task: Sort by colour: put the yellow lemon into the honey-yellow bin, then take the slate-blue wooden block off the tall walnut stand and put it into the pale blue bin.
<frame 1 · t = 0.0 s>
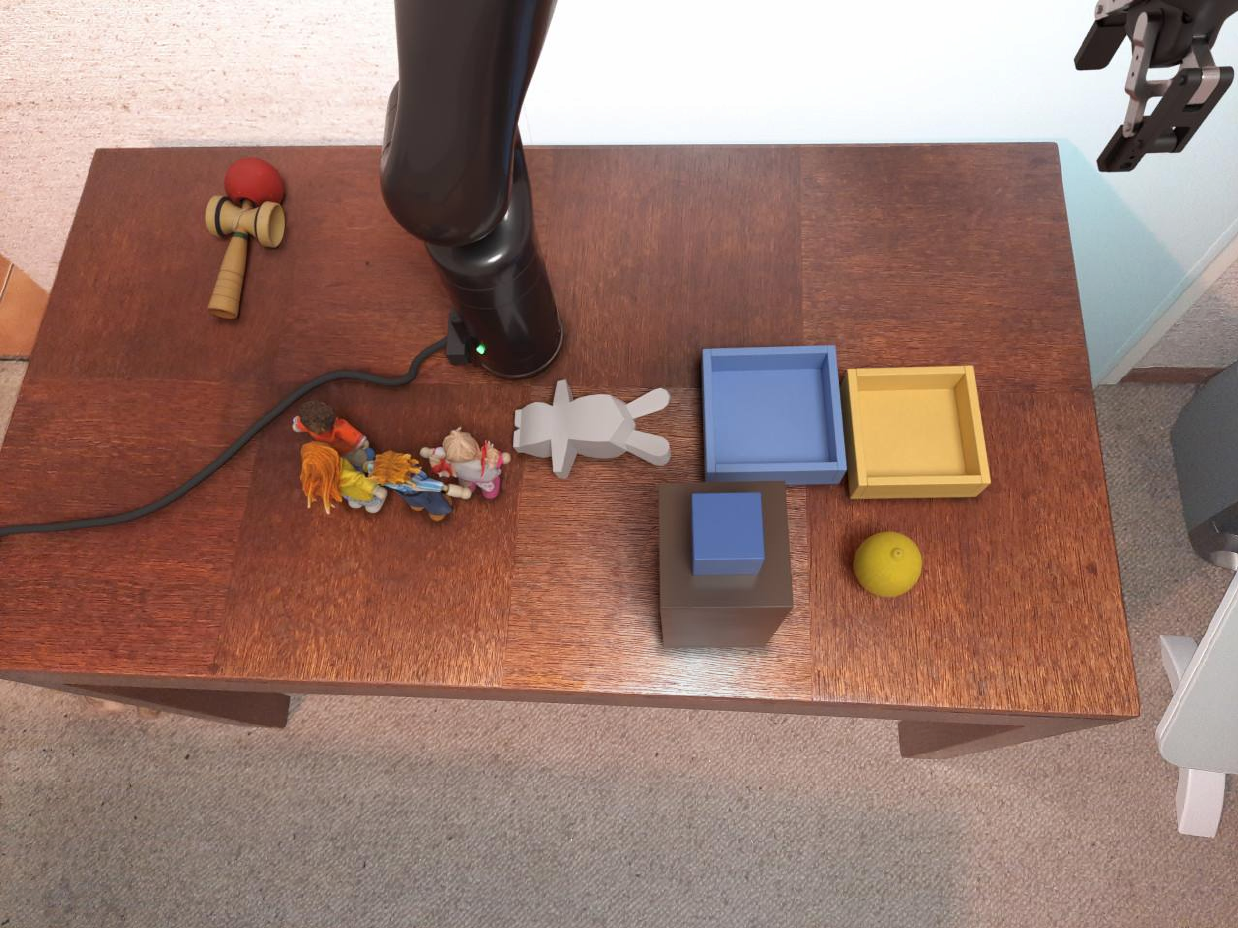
hand: (1099, 116, 58), 29 cm above the table, tool pointing down, fingers open, 8 cm apart
doll family: (410, 499, 83), on the table
kendama: (253, 251, 94), on the table
blue block: (724, 543, 59), point 20 cm above the table, touching stand
stand: (712, 597, 78), on the table
lemon: (876, 574, 78), on the table
blue bin: (768, 424, 83), on the table
bunny figurine: (594, 437, 84), on the table
yellow bin: (905, 440, 82), on the table
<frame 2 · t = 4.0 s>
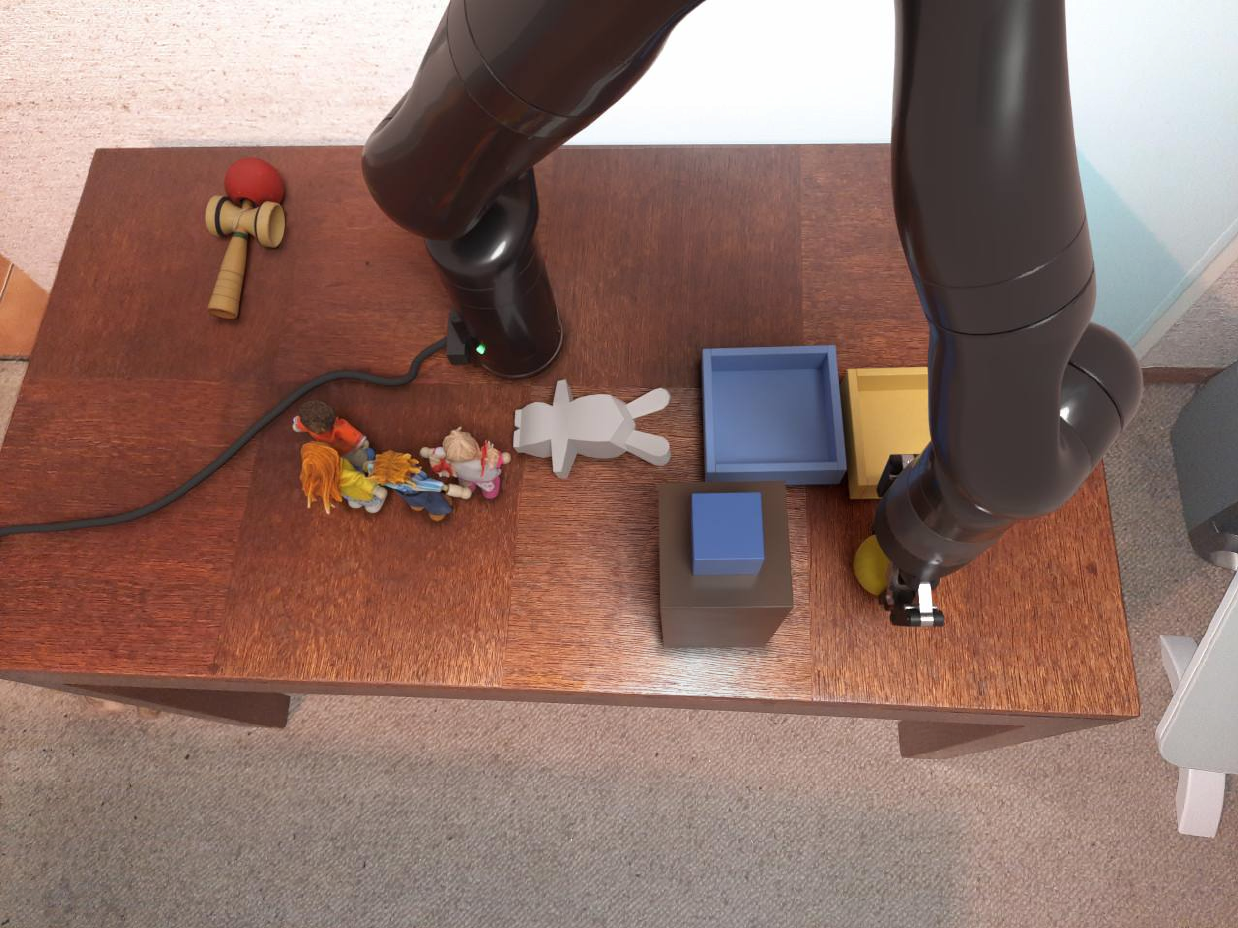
hand: (886, 565, 75), 4 cm above the table, tool pointing down, fingers closed on lemon, 5 cm apart
lemon: (876, 574, 78), on the table, touching gripper
everything else where it was.
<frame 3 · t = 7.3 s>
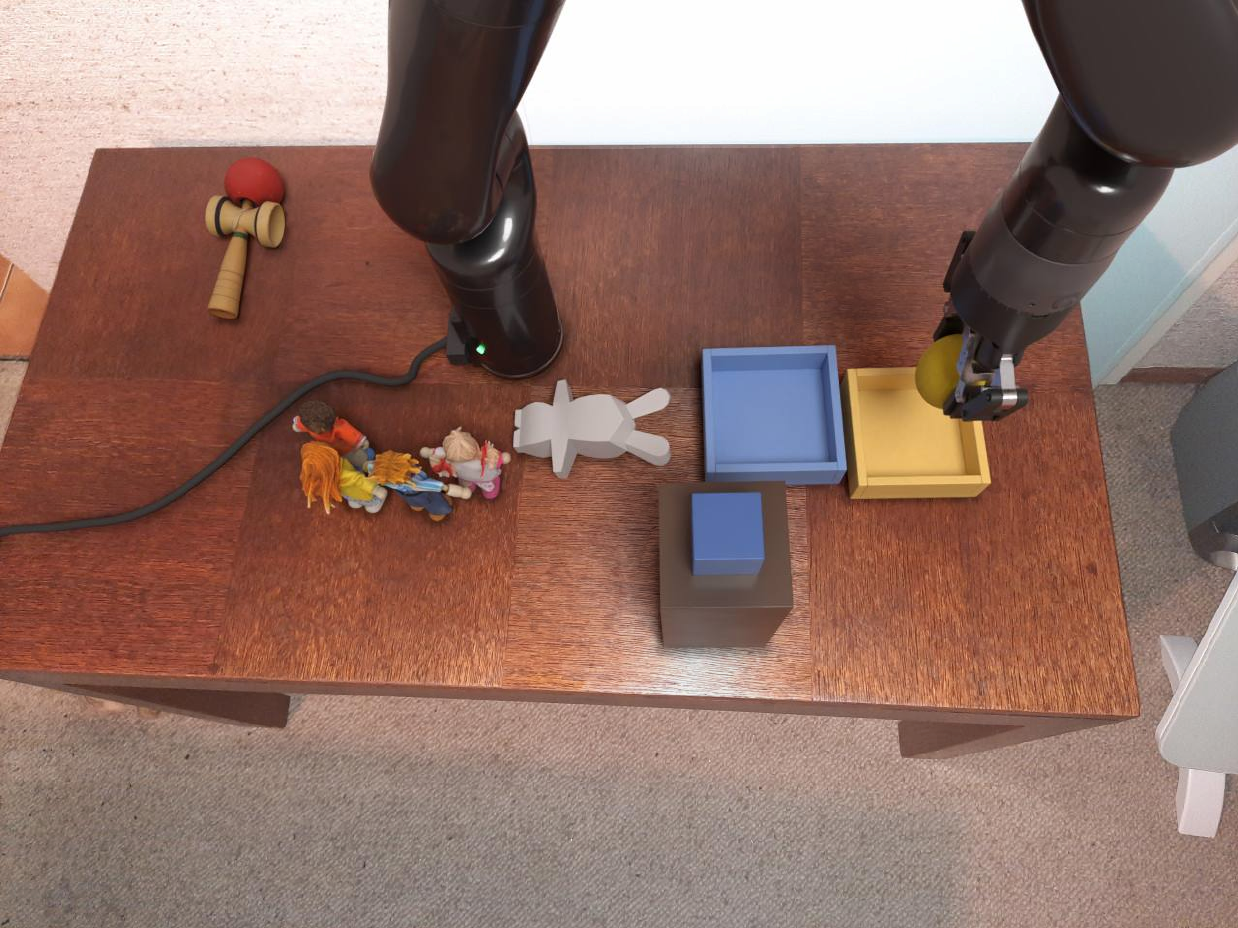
hand: (950, 375, 68), 15 cm above the table, tool pointing down, fingers closed on lemon, 5 cm apart
lemon: (937, 394, 72), point 11 cm above the table, touching gripper
everything else where it was.
when the fingers open (4 cm above the table, at t = 10.5 s): lemon stays where it is, resting on yellow bin.
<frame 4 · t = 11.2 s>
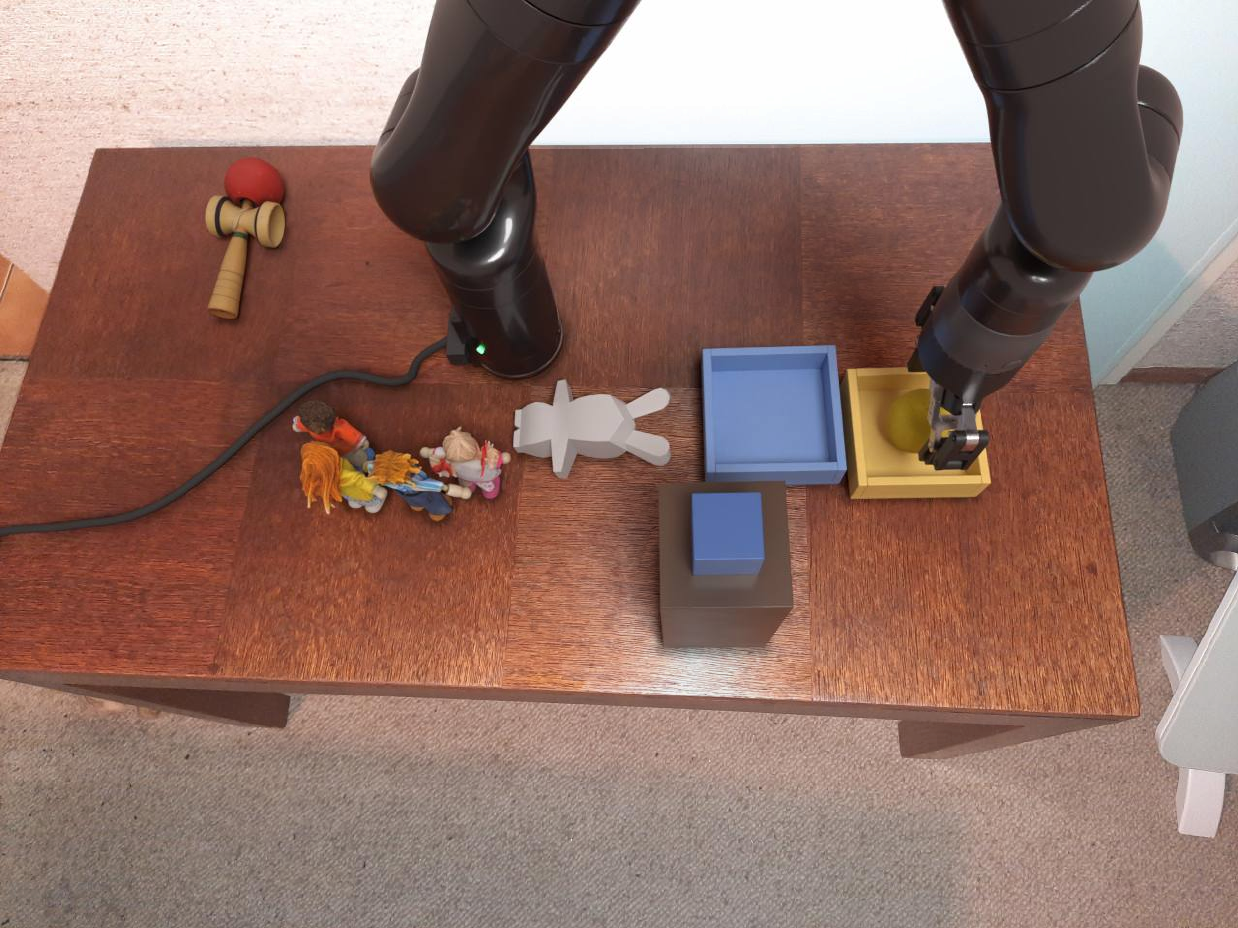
hand: (924, 412, 76), 7 cm above the table, tool pointing down, fingers open, 8 cm apart
lemon: (906, 438, 82), resting on yellow bin
everything else where it was.
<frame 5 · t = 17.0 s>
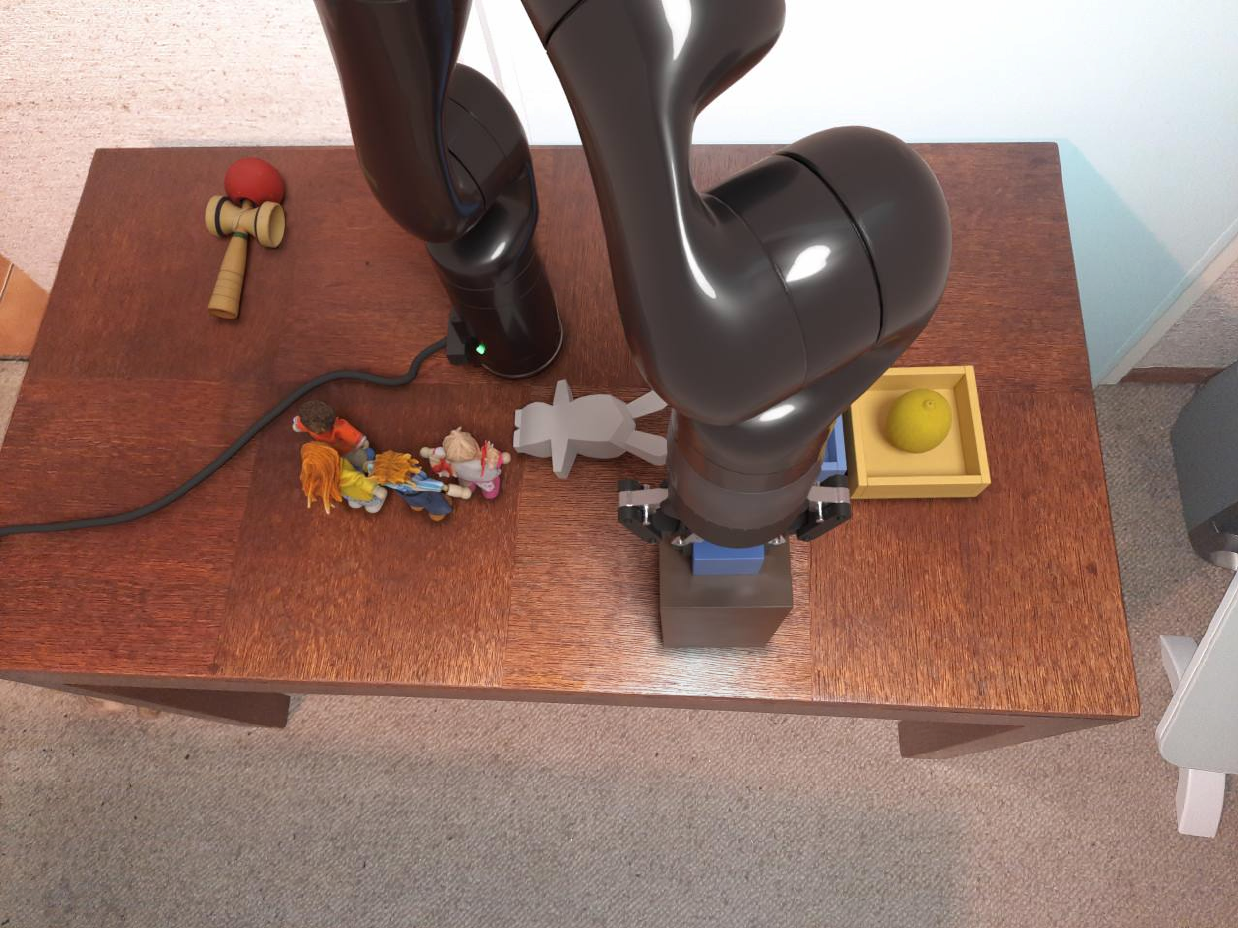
hand: (723, 540, 59), 21 cm above the table, tool pointing down, fingers closed on blue block, 4 cm apart
blue block: (723, 543, 59), point 20 cm above the table, touching gripper, stand
everything else where it was.
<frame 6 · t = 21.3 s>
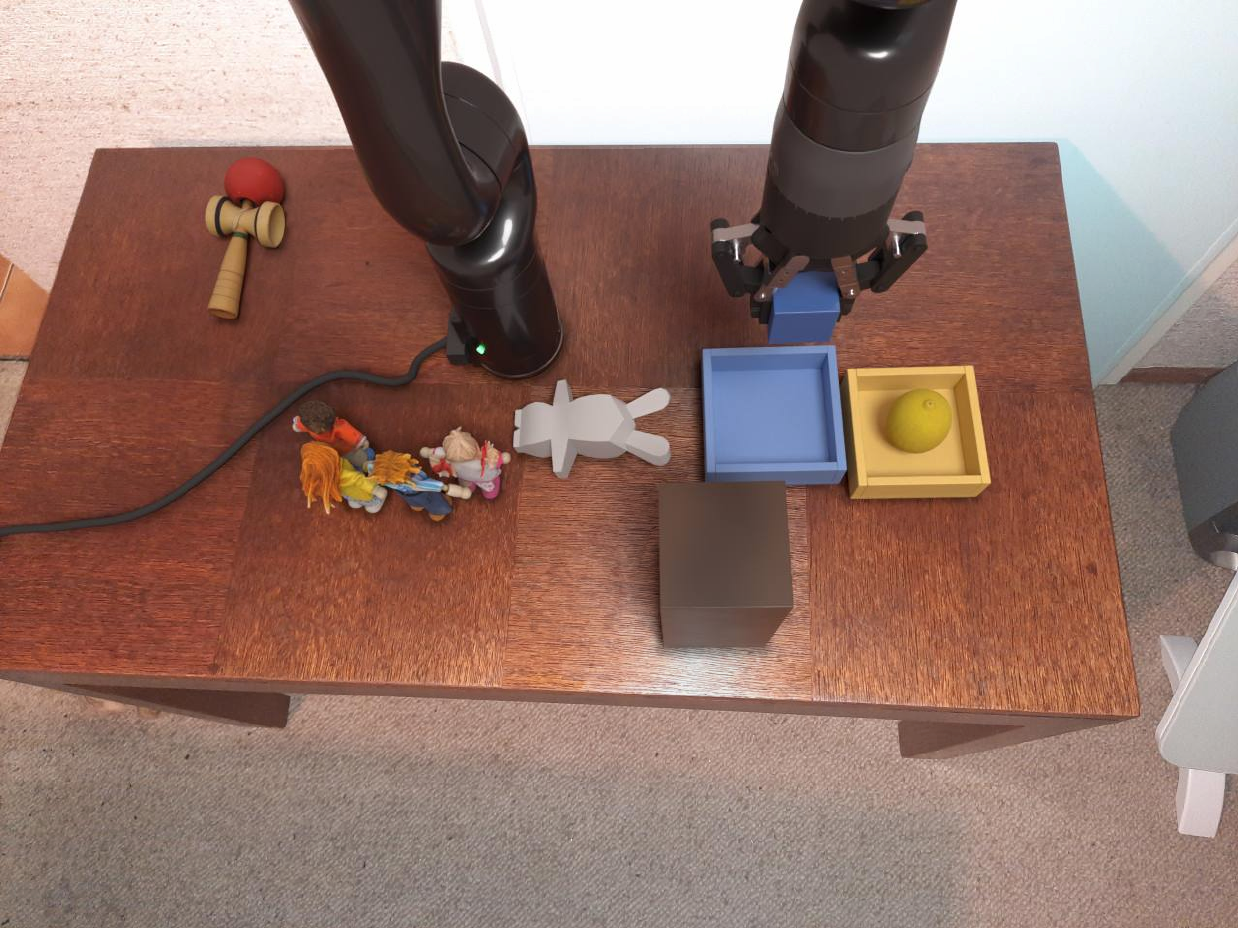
hand: (797, 312, 63), 22 cm above the table, tool pointing down, fingers closed on blue block, 4 cm apart
blue block: (796, 316, 64), point 21 cm above the table, touching gripper
everything else where it was.
when the fingers open (1 cm above the table, at t = 25.8 s): blue block stays where it is, resting on blue bin.
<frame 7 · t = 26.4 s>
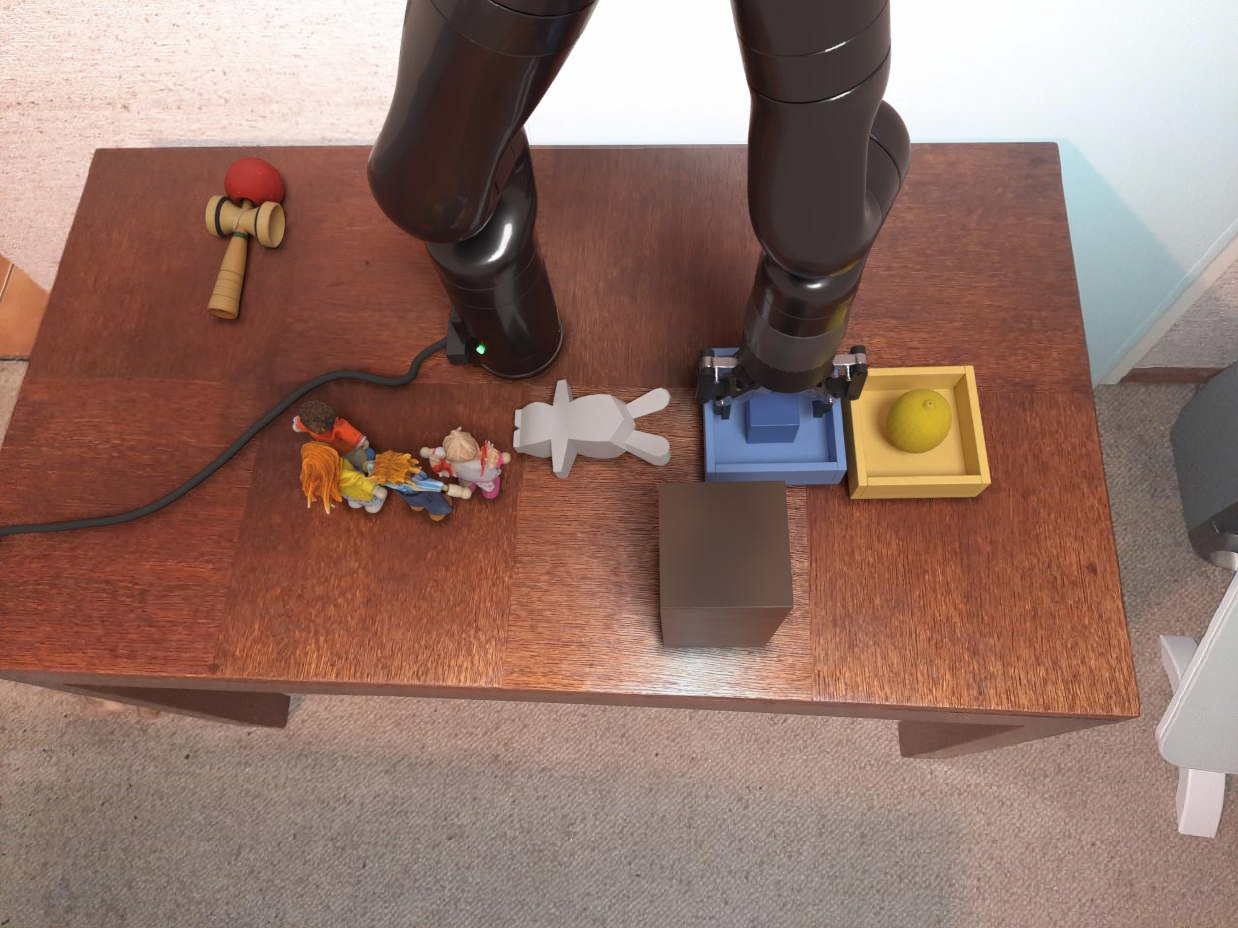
hand: (770, 409, 80), 4 cm above the table, tool pointing down, fingers open, 8 cm apart
blue block: (768, 421, 83), point 1 cm above the table, touching blue bin
everything else where it was.
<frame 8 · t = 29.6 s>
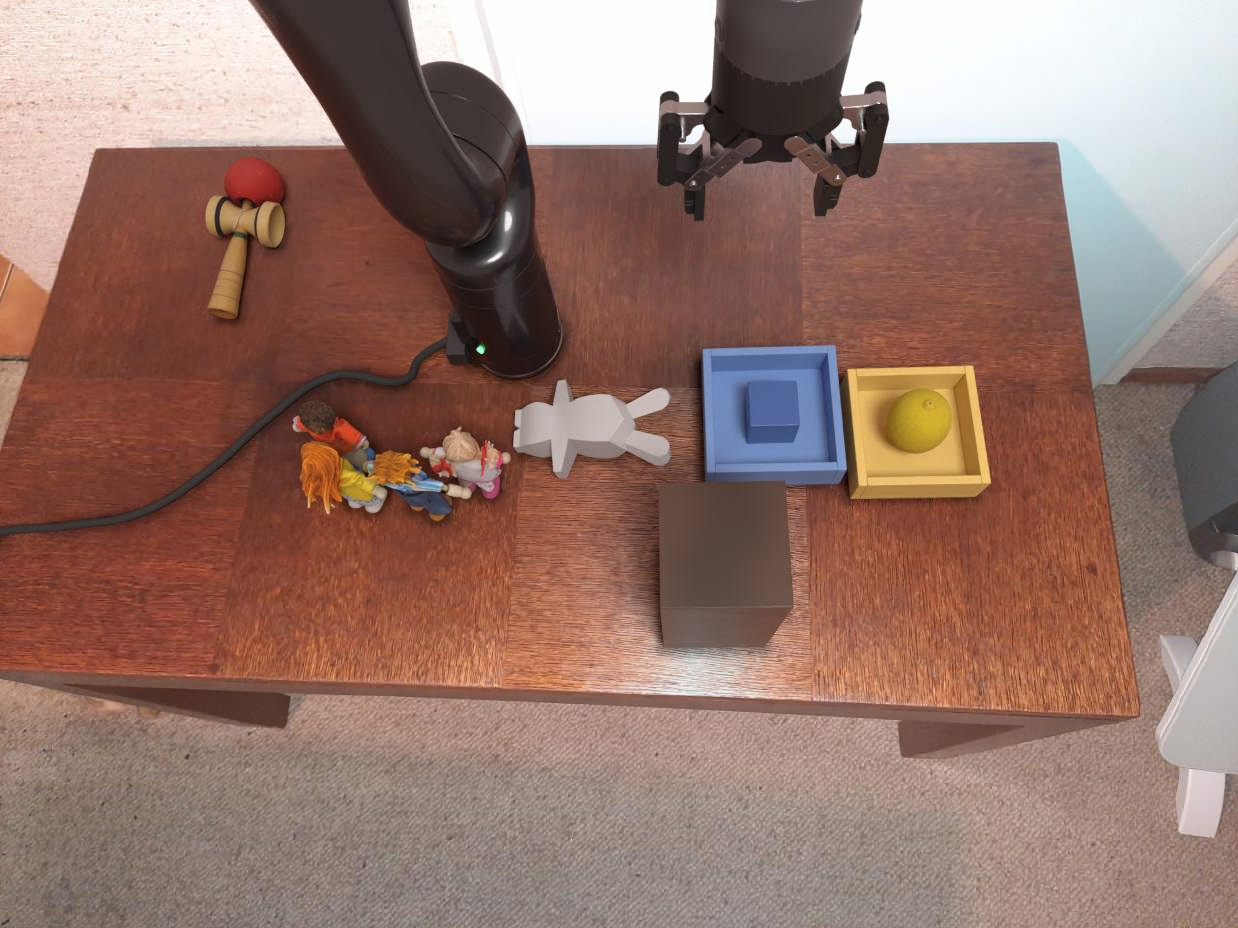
hand: (758, 208, 61), 26 cm above the table, tool pointing down, fingers open, 8 cm apart
nothing on the table moved.
at the end: lemon inside the target area in the yellow bin (0.1 cm from its centre), point 0.4 cm above the yellow bin's base; blue block inside the target area in the blue bin (0.0 cm from its centre), point 0.6 cm above the blue bin's base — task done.
